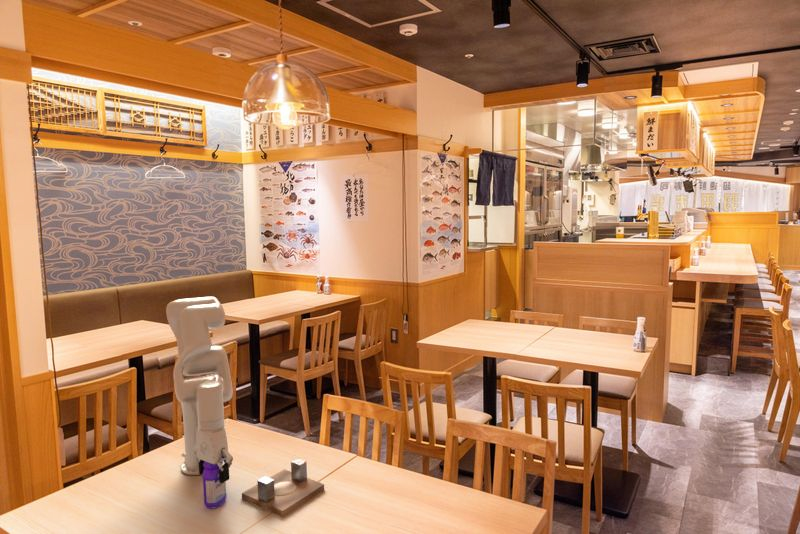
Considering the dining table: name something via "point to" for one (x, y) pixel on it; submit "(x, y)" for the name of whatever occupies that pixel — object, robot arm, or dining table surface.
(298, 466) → the post pair
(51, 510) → the dining table surface
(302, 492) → the base board
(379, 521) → the dining table surface
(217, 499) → the bottle
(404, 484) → the dining table surface
